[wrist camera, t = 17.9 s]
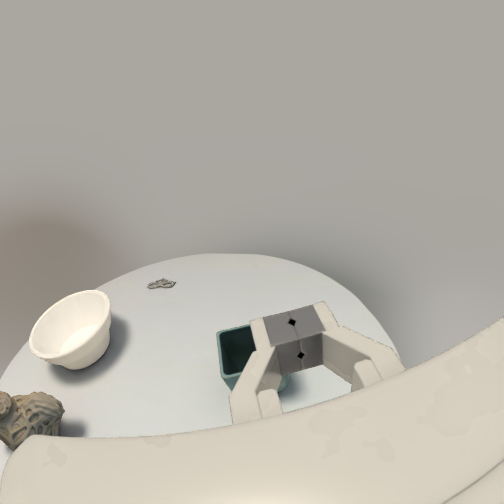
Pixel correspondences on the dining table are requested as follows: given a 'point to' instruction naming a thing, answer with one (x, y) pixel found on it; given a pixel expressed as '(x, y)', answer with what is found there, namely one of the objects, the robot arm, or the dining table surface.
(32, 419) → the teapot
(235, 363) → the flower pot
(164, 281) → the charm
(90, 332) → the bowl
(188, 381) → the dining table surface
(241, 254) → the dining table surface
